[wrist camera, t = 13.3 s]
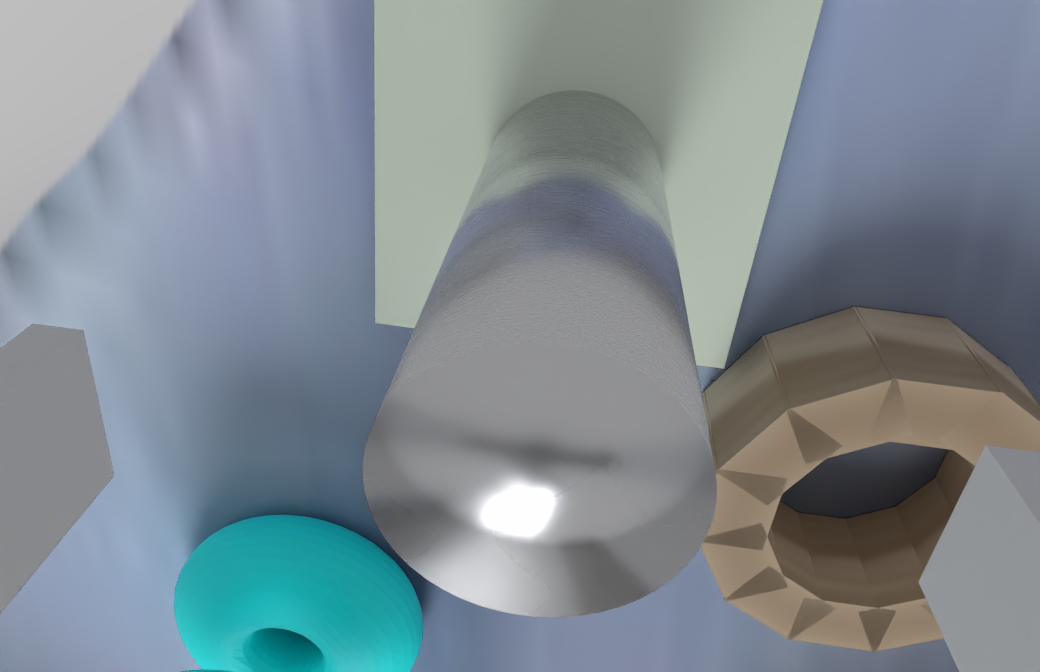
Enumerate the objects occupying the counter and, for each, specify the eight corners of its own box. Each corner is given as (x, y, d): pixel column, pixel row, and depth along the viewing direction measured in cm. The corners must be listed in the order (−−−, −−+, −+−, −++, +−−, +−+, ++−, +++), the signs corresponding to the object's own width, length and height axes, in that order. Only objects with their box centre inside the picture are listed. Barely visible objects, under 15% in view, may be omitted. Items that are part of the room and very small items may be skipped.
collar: (665, 536, 30) (672, 623, 26) (729, 289, 24) (748, 359, 21) (947, 575, 29) (992, 669, 26) (1075, 334, 24) (1153, 411, 20)
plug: (481, 247, 23) (363, 593, 12) (493, 80, 21) (360, 320, 10) (644, 267, 23) (678, 637, 12) (676, 101, 21) (756, 371, 9)
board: (383, 308, 26) (375, 323, 25) (384, -69, 20) (374, -66, 19) (720, 351, 25) (723, 368, 25) (818, -20, 20) (827, -15, 19)
